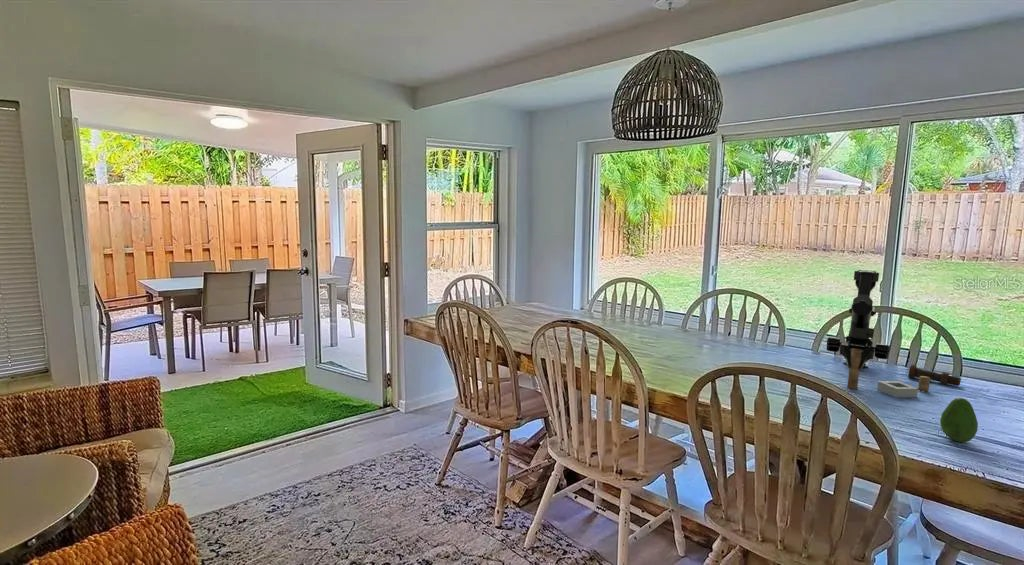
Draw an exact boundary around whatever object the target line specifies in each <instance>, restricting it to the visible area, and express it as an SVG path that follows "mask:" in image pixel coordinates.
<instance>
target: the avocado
mask: <svg viewBox="0 0 1024 565" xmlns="http://www.w3.org/2000/svg"><path fill="white" fill-rule="evenodd" d="M939 421H940V422H939V423H940V427H941V428H940V429H941V431H942V432H943V433H944V434H945V435H946V437H948V438H949V439H951V440H953V441H955V442H957V443H965V442H969V441H971V440H973V439H974V438H975V436H976V434H977V432H978V428H979V423H978V418H977V414H976V412H975V409H974V407H973V406H972V404H971V402H970V401H969V400H968V399H966V398H962V397H957V398H954V399H953V400H951V402H949V404H947V406H946V408H945V409H944V410H943V411H942V413H941V417H940V420H939Z"/></svg>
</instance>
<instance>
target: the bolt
mask: <svg viewBox="0 0 1024 565" xmlns="http://www.w3.org/2000/svg"><path fill="white" fill-rule="evenodd" d="M920 376H926V377H930V381H933V382H937V383H939V384H940V383H941V384H940V385H942V384H944V385H943V386H947V385H952V386H957V387H958V386H960V384H961V382H962V381H961V380H962V379H961V377H958V376H953V375H950V373H949V372H945V371H943V372H942V373H939V372H935V371H930V370H926V369H922V368H918V367H917V364H910V366H909V369H908V378H909V377H910V378H909V379H911V378H913V379H914V378H917V379H918V378H920Z"/></svg>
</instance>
